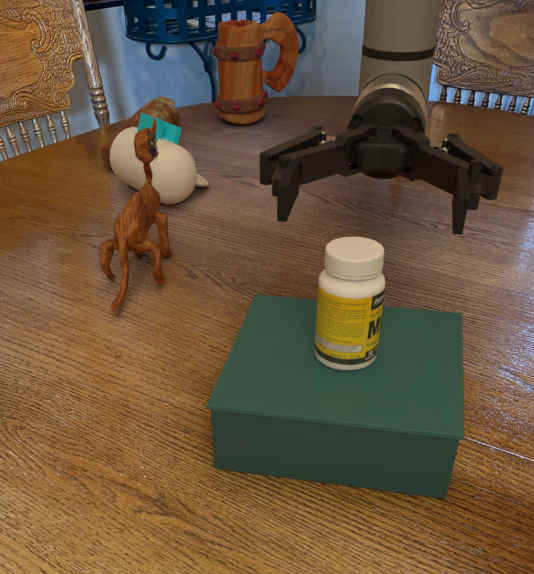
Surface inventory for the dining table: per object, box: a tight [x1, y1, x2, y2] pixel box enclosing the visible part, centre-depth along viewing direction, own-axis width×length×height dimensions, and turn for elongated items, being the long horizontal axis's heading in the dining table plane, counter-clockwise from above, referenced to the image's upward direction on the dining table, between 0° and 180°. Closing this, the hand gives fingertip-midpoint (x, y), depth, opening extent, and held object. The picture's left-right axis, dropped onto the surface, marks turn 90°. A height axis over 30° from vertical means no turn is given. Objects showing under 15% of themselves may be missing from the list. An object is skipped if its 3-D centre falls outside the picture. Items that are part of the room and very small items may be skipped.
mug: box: [211, 11, 300, 126], centre depth 113 cm, size 15×8×15 cm, turn 112°
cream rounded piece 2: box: [110, 112, 209, 205], centre depth 91 cm, size 12×9×12 cm
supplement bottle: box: [315, 236, 386, 370], centre depth 50 cm, size 5×5×8 cm
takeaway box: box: [205, 293, 465, 500], centre depth 55 cm, size 18×16×6 cm
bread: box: [100, 96, 181, 168], centre depth 104 cm, size 6×19×6 cm, turn 161°
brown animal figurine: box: [98, 118, 174, 313], centre depth 70 cm, size 18×7×14 cm, turn 172°
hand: (369, 210), depth 53 cm, fingers open, 13 cm apart
